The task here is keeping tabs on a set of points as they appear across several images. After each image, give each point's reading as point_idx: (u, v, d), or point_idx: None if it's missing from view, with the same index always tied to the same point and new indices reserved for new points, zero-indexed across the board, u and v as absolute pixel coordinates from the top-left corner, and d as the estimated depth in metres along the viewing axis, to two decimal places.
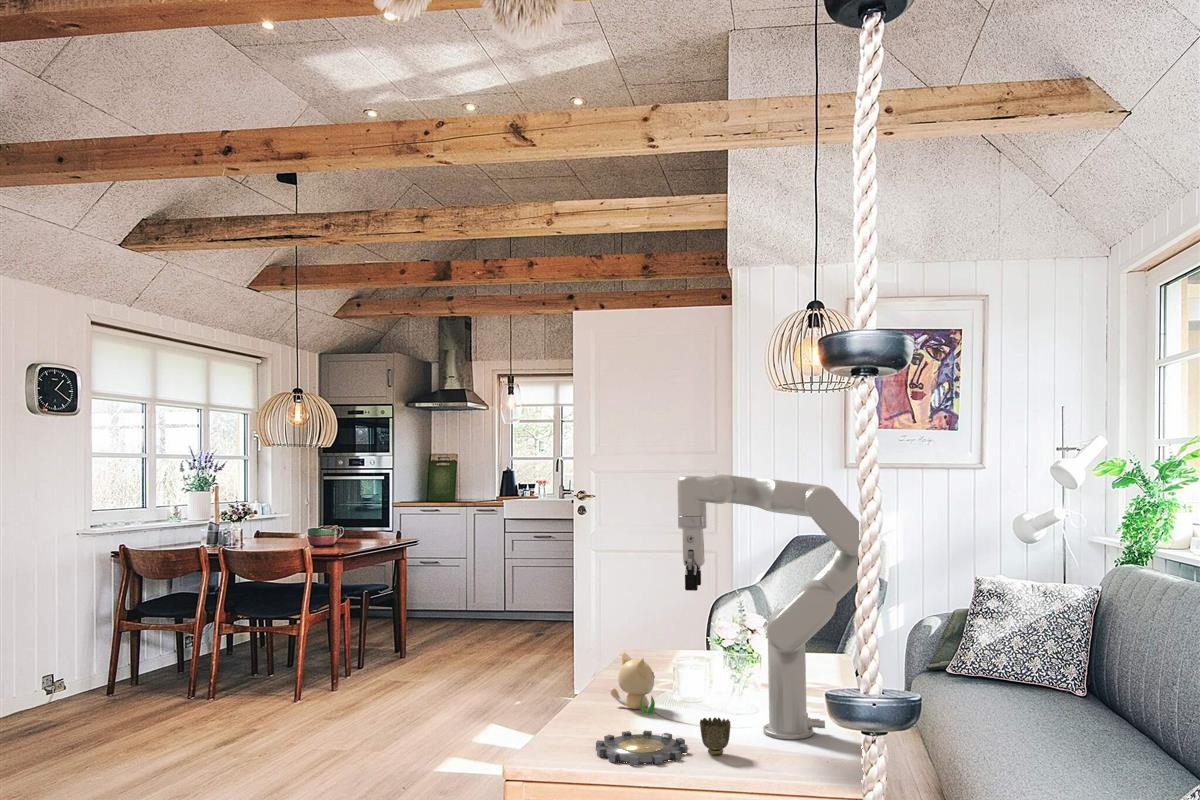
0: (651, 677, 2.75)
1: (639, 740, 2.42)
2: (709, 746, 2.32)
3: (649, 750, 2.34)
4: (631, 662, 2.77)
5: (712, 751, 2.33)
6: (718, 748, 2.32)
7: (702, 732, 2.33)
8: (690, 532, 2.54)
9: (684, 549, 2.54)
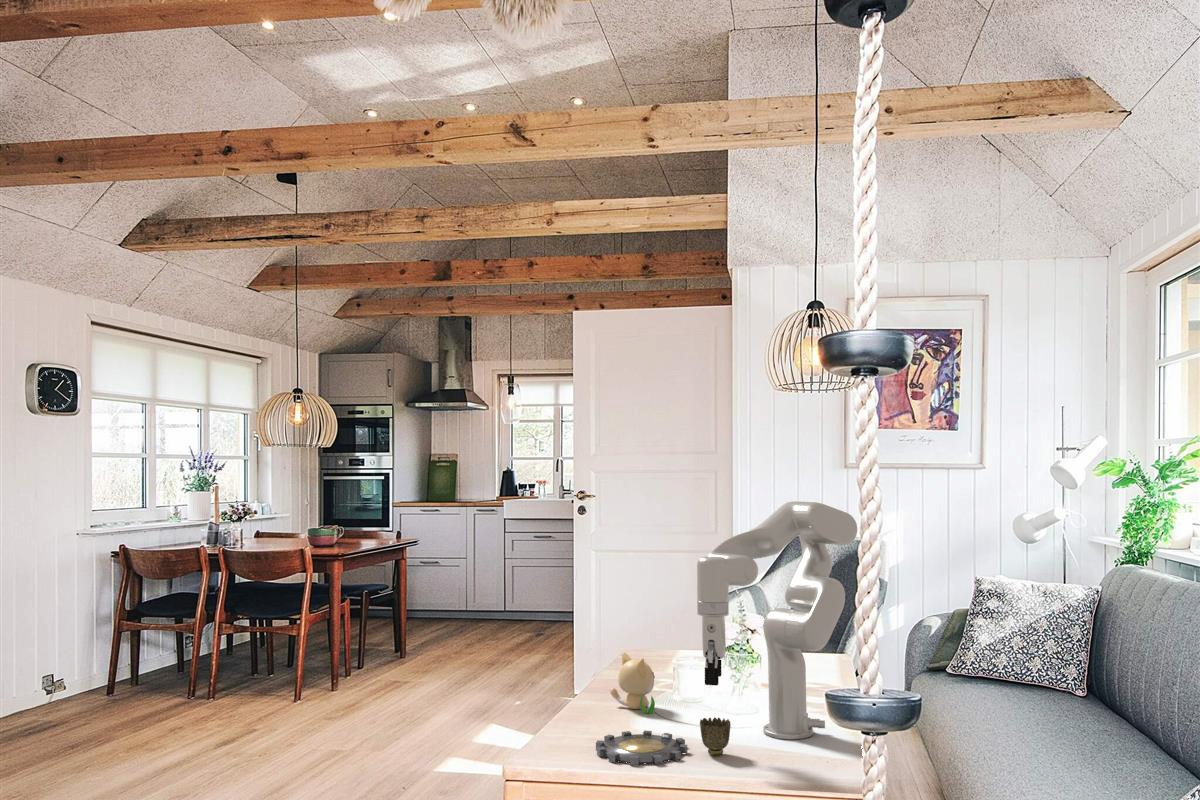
0: (651, 677, 2.75)
1: (639, 740, 2.42)
2: (709, 746, 2.32)
3: (649, 750, 2.34)
4: (631, 662, 2.77)
5: (712, 751, 2.33)
6: (718, 748, 2.32)
7: (702, 732, 2.33)
8: (711, 621, 2.32)
9: (704, 639, 2.31)
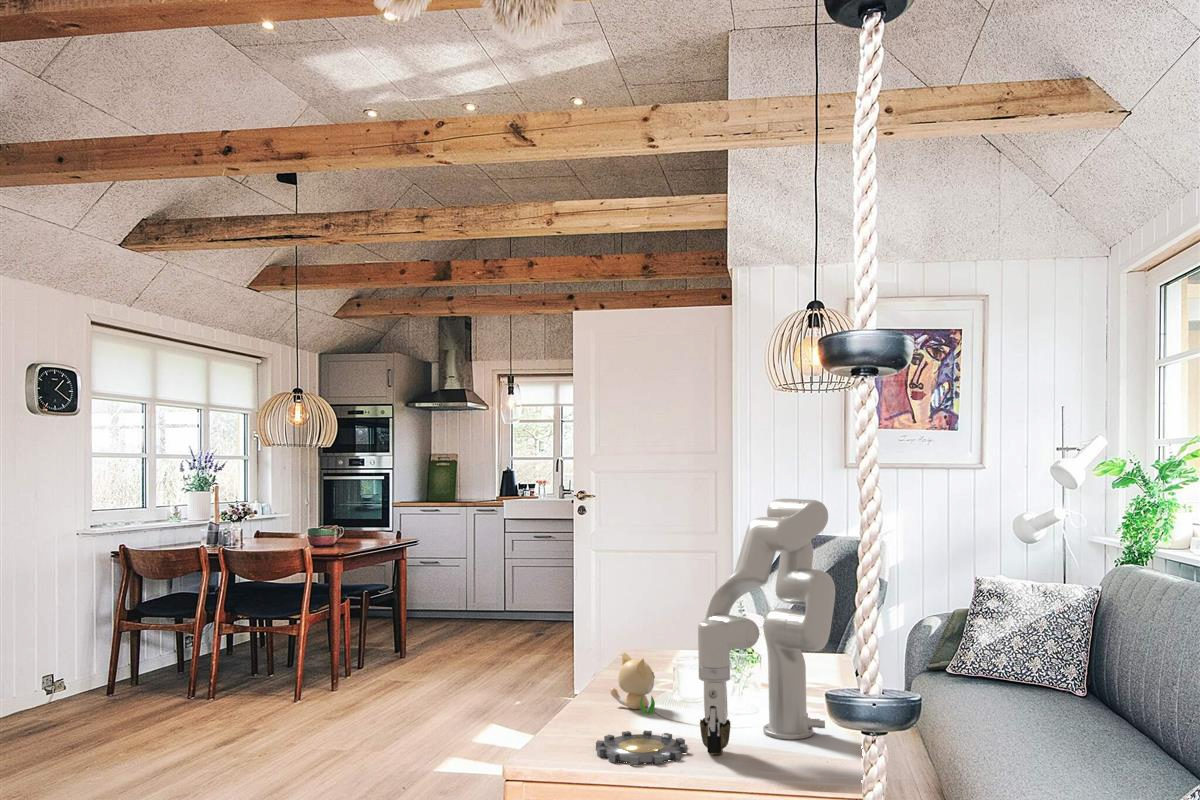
0: (651, 677, 2.75)
1: (639, 740, 2.42)
2: None
3: (649, 750, 2.34)
4: (631, 662, 2.77)
5: None
6: None
7: (702, 732, 2.33)
8: (713, 686, 2.31)
9: (706, 705, 2.31)
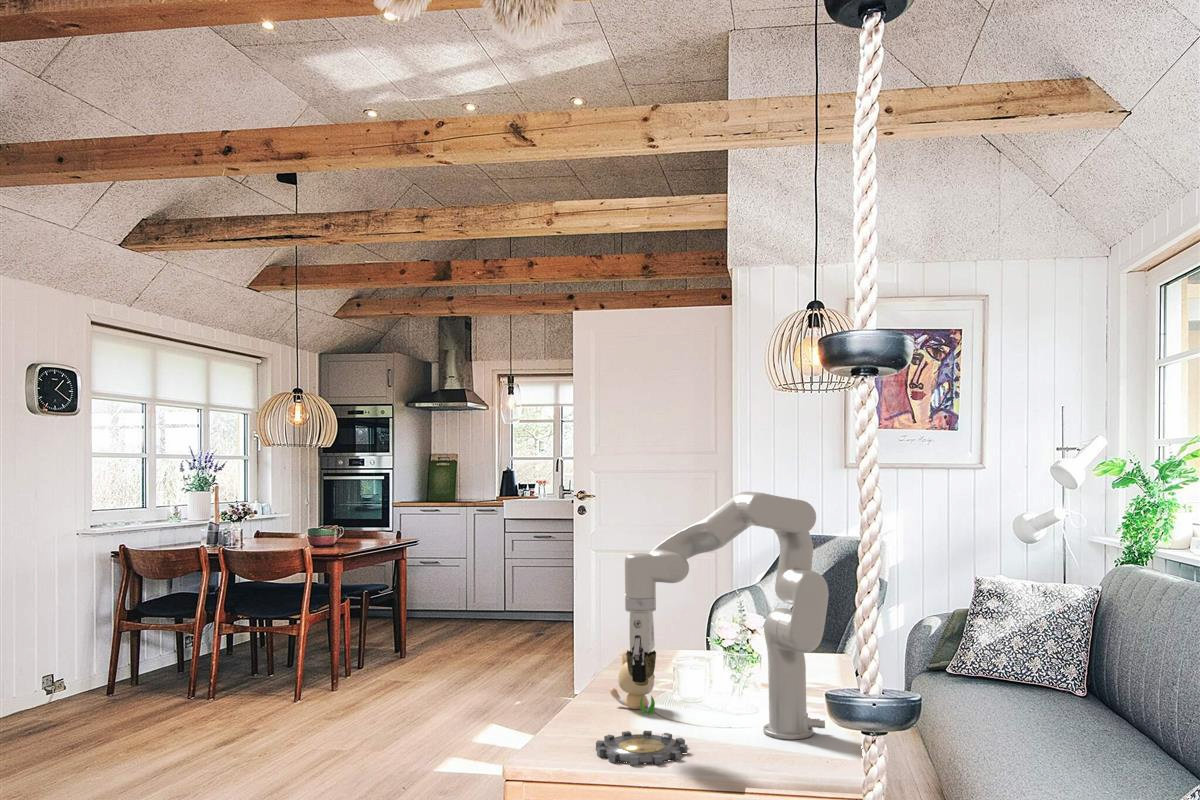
0: (651, 677, 2.75)
1: (639, 740, 2.42)
2: None
3: (649, 750, 2.34)
4: None
5: None
6: None
7: (628, 662, 2.38)
8: (637, 617, 2.35)
9: (631, 635, 2.35)
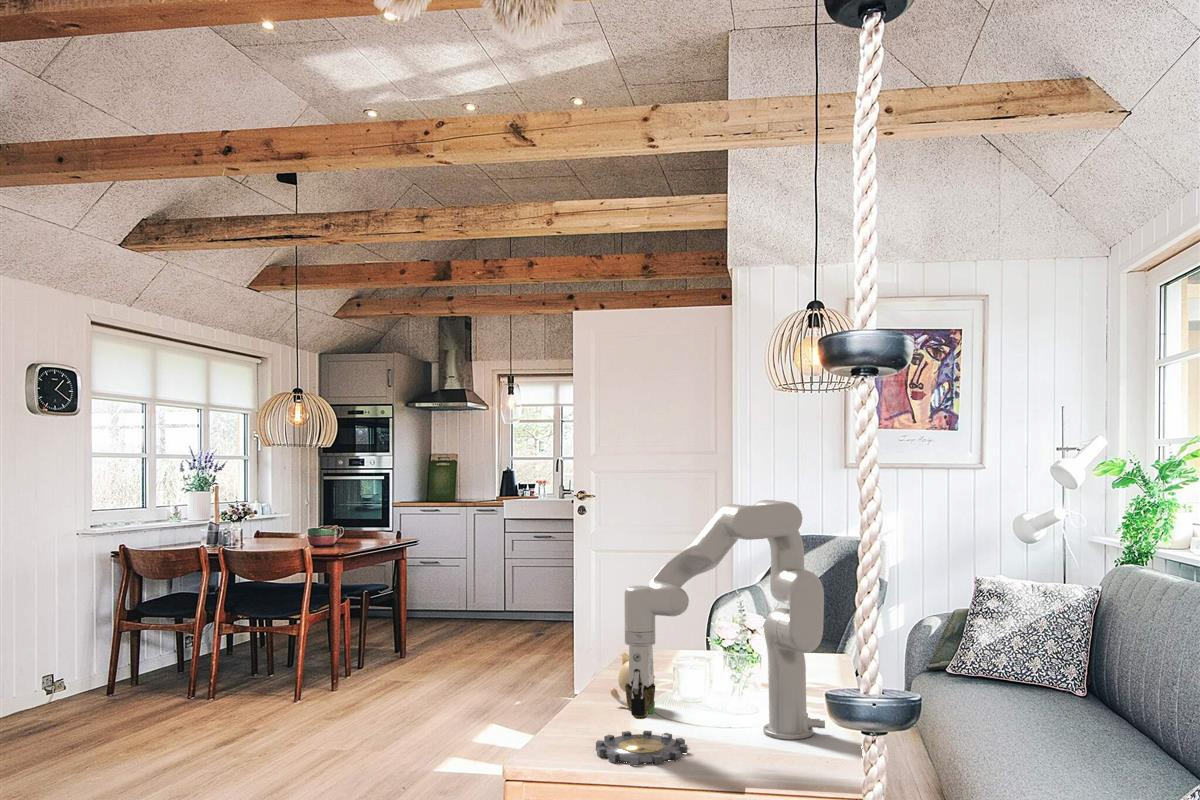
0: None
1: (639, 740, 2.42)
2: None
3: (649, 750, 2.34)
4: None
5: None
6: None
7: (627, 695, 2.37)
8: (637, 650, 2.35)
9: (630, 668, 2.34)
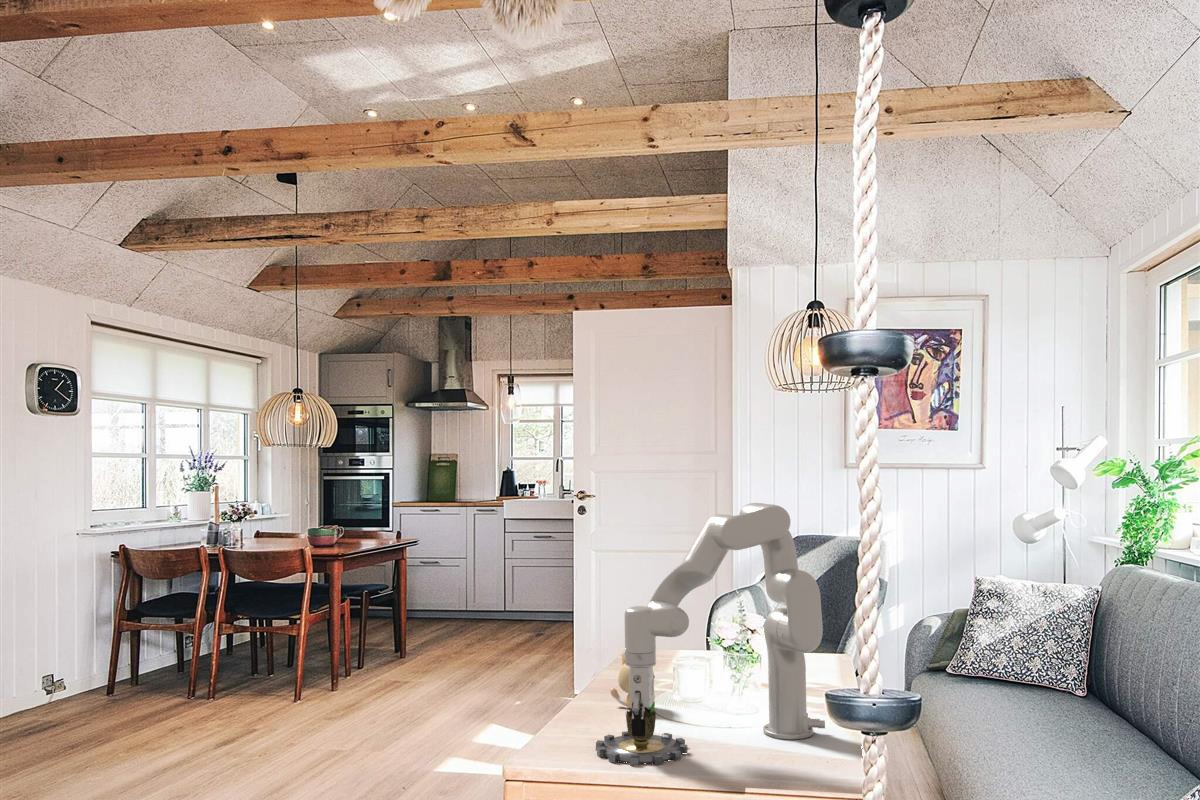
0: None
1: None
2: (634, 737, 2.35)
3: (649, 750, 2.34)
4: None
5: (637, 742, 2.36)
6: (643, 739, 2.35)
7: (627, 723, 2.37)
8: (637, 672, 2.34)
9: (631, 690, 2.34)
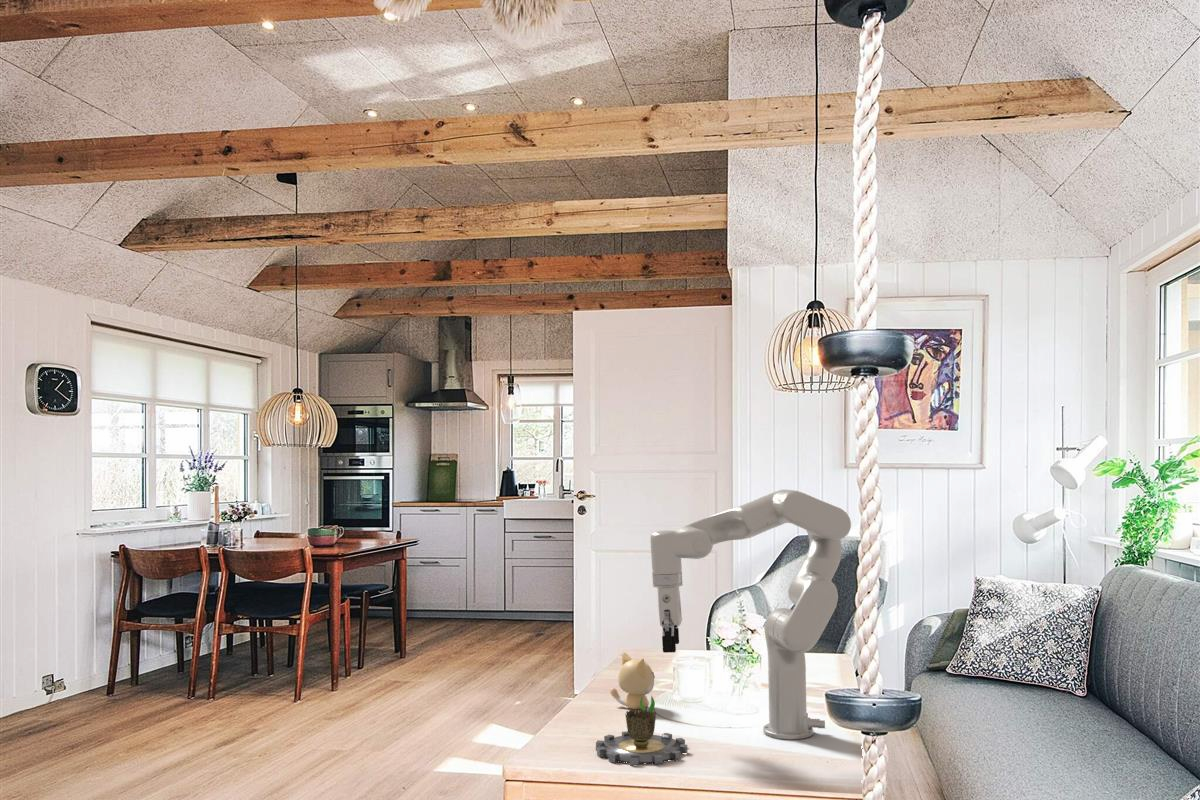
0: (651, 677, 2.75)
1: None
2: (634, 737, 2.35)
3: (649, 750, 2.34)
4: (631, 662, 2.77)
5: (637, 742, 2.36)
6: (642, 739, 2.35)
7: (627, 723, 2.36)
8: (666, 591, 2.43)
9: (660, 609, 2.43)
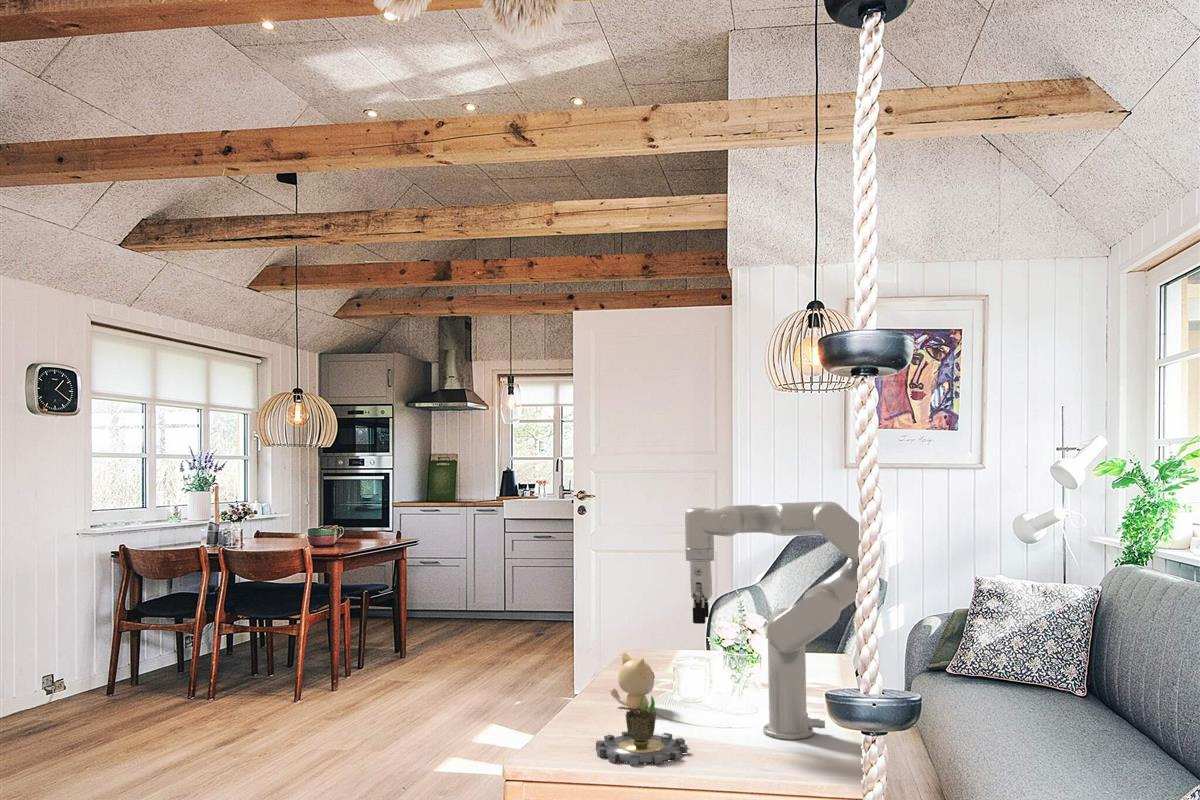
0: (651, 677, 2.75)
1: None
2: (634, 737, 2.35)
3: (649, 750, 2.34)
4: (631, 662, 2.77)
5: (637, 742, 2.36)
6: (642, 739, 2.35)
7: (627, 723, 2.36)
8: (698, 565, 2.54)
9: (692, 582, 2.54)
